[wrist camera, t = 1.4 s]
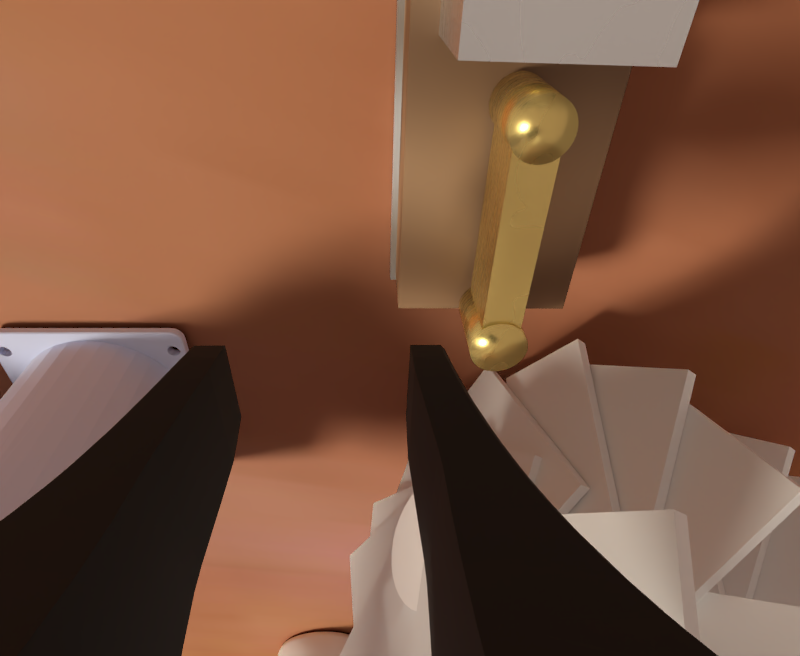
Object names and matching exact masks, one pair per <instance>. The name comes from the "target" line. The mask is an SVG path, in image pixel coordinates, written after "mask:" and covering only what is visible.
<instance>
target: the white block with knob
mask: <svg viewBox="0 0 800 656" xmlns="http://www.w3.org/2000/svg"><path fill="white" fill-rule="evenodd" d="M698 3H699V0H441V11H440V25H439V36H440V37H441V39H442V40H443V41H444V43H445V44H446V45H447V47H448V48H449V49H450V51H451V52H452V53H453V55H454V56H455V57H456V59H457V60H458V61H490V62H522V63H554V64H586V65H618V66H650V67H677V65H678V62H679V59H680V56H681V53H682V50H683V47H684V44H685V41H686V38H687V35H688V32H689V29H690V26H691V23H692V20H693V18H694V15H695V12H696V9H697V6H698Z"/></svg>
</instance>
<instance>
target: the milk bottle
mask: <svg viewBox="0 0 800 656" xmlns="http://www.w3.org/2000/svg"><path fill="white" fill-rule="evenodd" d="M348 637H349V634H345V633H339V632H312V633H305V634H301V635H298V636H295V637H292V638H291V639H289V640H287V641H286V642H285V643H283V645H282V647H281V649H280V651H279V653H278V656H340V654H341V652H342V650H343V648H344V646H345V644H346V641H347V639H348Z"/></svg>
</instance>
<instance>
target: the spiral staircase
mask: <svg viewBox="0 0 800 656" xmlns="http://www.w3.org/2000/svg"><path fill="white" fill-rule="evenodd" d="M695 378H696V374H694V373H693V372H691V371H690V370H688V369H669V368H649V367H630V366H611V365H591V364H589V360H588V355H587V350H586V345H585V343H584V342H582V341H580V340H579V339H576V340H574V341H573V342H571V343H569V344H567V345H565V346H564V347H562V348H560V349H558V350H556V351H554V352H553V353H551V354H549V355H547V356H545V357H544V358H542V359H540V360H538V361H536V362H535V363H533V364H531V365H529V366H527V367H526V368H524V369H522V370H520V371H518V372H517V373H515V374H513V375H511V376H509V377H508V378H506V383H505V382H504V381H503V379H502V378H501V377H500V376H499V374H498V373H497V372H496V371H487V370H484V371H483V372H482V373H481V374H480V376H479V377H478V378H477V380H476V381H475V382H474V384H473V385H472V386H471V388H470V389H469V390H468V393H469V395H470V397H471V398H472V400H473V401H474V403H475V404H476V406H477V407H478V409H479V410H480V412H481V413H482V415H483V416H484V418H485V419H486V421H487V422H488V424H489V425H490V427H491V428H492V430H493V431H494V433H495V434H496V435H497V437H498V438H499V440H500V441H501V442H502V444H503V445H504V446H505V448H506V449H507V450H508V452H509V453H510V454H511V456H512V457H513V458H514V459H515V461H516V462H517V463H518V465H519V466H520V467H521V468H522V470H523V471H524V472H525V473H526V475H527V476H528V477H529V478H530V479H531V481H532V482H533V483H534V484H535V485H536V486H537V488H538V489H539V490H540V491H541V492H542V493H543V494H544V496H545V497H546V498H547V499H548V500H549V501H550V502H551V504H552V505H553V506H554V507H555V508H556V509H557V510H558V511H559V512H560V513H561V514H562V515H563V516H564V517H565V519H566V520H567V521H568V522H569V523H570V524H571V525H572V526H573V527H574V528H575V529H576V530H577V531H578V532H579V533H580V534H581V535H582V536H583V537H584V538H585V539H586V540H587V541H588V542H589V543H590V544H591V545H592V546H593V547H594V548H595V549H596V550H597V551H598V552H599V553H601V554H602V555H603V556H604V557H605V558H606V559H607V560H608V561H609V562H610V563H611V564H612V565H613V566H614V567H615V568H616V569H617V570H618V571H619V572H620V573H621V574H622V575H623V576H624V577H625V578H626V579H628V580H629V581H630V582H631V583H632V584H633V585H634V586H635V587H637V588H638V589H639V590H640V591H641V592H642V593H643V594H645V595H646V596H647V597H648V598H649V599H650V600H651V601H653V602H654V603H655V604H656V605H657V606H658V607H659V608H660V609H662V610H663V611H664V612H665V613H666V614H667V615H669V616H670V617H671V618H672V619H673V620H675V621H676V622H677V623H678V624H679V625H681V626H682V627H683V628H684V629H685V630H687V631H688V632H689V633H690V634H692V635H693V636H694V637H695V638H697V639H698V640H699V641H700V642H702V643H703V644H704V645H705V646H707V647H708V648H709V649H710V650H712V651H713V652H714V653H715V654H717V655H718V656H800V477H797V476H788V474H789V471H790V467H791V464H792V460H793V457H794V453H795V450H794V449H792V448H791V447H790V446H785V445H781V444H776V443H772V442H767V441H763V440H759V439H754V438H750V437H745V436H741V435H737V434H732V433H728V432H727V431H726V430H724V429H723V428H722V427H720V426H719V425H718V424H716V423H715V422H714V421H712V420H711V419H710V418H708V417H707V416H706V415H704V414H703V413H702V412H701V411H699V410H698V409H697V408H695V407H693V406H692V405H690V404H689V403H690V399H691V395H692V390H693V386H694V382H695ZM350 570H351V588H352V606H353V624H354V627H353V629H352V631H351V633H350V635H349V637H348V639H347V641H346V644H345V646H344V648H343V650H342V652H341V654H340V656H432V655H431V639H430V624H429V609H428V594H427V582H426V573H425V565H424V557H423V551H422V544H421V538H420V532H419V525H418V519H417V513H416V506H415V500H414V493H413V487H412V480H411V474H410V467H409V461H408V463H407V466H406V468H405V471H404V474H403V477H402V479H401V482H400V485H399V488H398V490H397V493H396V494H393V495H391V496H389V497H386V498H384V499H382V500H380V501H377V502H375V503H373V513H372V523H371V533H370V537H369V538H368V539H367V540H366V541H365V542H364V543H363V544H362V545H361V546H359V547H358V548H357V549H356V550H355V551H354V552H353V553H352V554H351V555H350Z"/></svg>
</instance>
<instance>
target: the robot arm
mask: <svg viewBox="0 0 800 656" xmlns="http://www.w3.org/2000/svg"><path fill="white" fill-rule="evenodd" d="M172 346H173V347H176V348H178V349H179V350H175V349H173V348H172ZM5 347H6V348H8V349H9V350H8V349H6V348H5ZM0 363H1V365H2V367H3V368H4V370H5V372H6V373H7V375H8V376H9V378H10V380H11V381H12V383H13V384H12V386H11V387H10V388H9V389H8V391H7V392H6V393H5V394H4V395H3V397H2V398H1V399H0V656H181V655H182V649H183V644H184V639H185V635H186V630H187V625H188V620H189V615H190V610H191V606H192V601H193V596H194V591H195V588H196V584H197V580H198V576H199V573H200V569H201V565H202V562H203V559H204V556H205V553H206V549H207V546H208V543H209V540H210V537H211V533H212V530H213V527H214V524H215V520H216V517H217V514H218V511H219V508H220V504H221V501H222V498H223V495H224V491H225V488H226V485H227V481H228V478H229V475H230V471H231V468H232V465H233V461H234V455H235V450H236V445H237V439H238V433H239V427H240V421H241V413H240V409H239V405H238V400H237V396H236V392H235V387H234V383H233V379H232V374H231V370H230V366H229V362H228V357H227V353H226V349H225V346H193V347H192V348H191V349H190V350H189V348H188V345H187V342H186V338H185V336H184V334H183V333H182V332H181V331H179V330H177V329H174V328H0ZM406 422H407V444H408V461H409V467H410V474H411V480H412V487H413V493H414V500H415V506H416V513H417V519H418V525H419V532H420V538H421V544H422V551H423V557H424V565H425V573H426V582H427V594H428V609H429V624H430V639H431V655H432V656H718V655H717V654H715V653H714V652H713V651H712V650H710V649H709V648H708V647H707V646H705V645H704V644H703V643H702V642H700V641H699V640H698V639H697V638H695V637H694V636H693V635H692V634H690V633H689V632H688V631H687V630H685V629H684V628H683V627H682V626H681V625H679V624H678V623H677V622H676V621H675V620H673V619H672V618H671V617H670V616H669V615H667V614H666V613H665V612H664V611H663V610H662V609H660V608H659V607H658V606H657V605H656V604H655V603H654V602H653V601H651V600H650V599H649V598H648V597H647V596H646V595H645V594H643V593H642V592H641V591H640V590H639V589H638V588H637V587H635V586H634V585H633V584H632V583H631V582H630V581H629V580H628V579H626V578H625V577H624V576H623V575H622V574H621V573H620V572H619V571H618V570H617V569H616V568H615V567H614V566H613V565H612V564H611V563H610V562H609V561H608V560H607V559H606V558H605V557H604V556H603V555H602V554H601V553H599V552H598V551H597V550H596V549H595V548H594V547H593V546H592V545H591V544H590V543H589V542H588V541H587V540H586V539H585V538H584V537H583V536H582V535H581V534H580V533H579V532H578V531H577V530H576V529H575V528H574V527H573V526H572V525H571V524H570V523H569V522H568V521H567V520H566V519H565V517H564V516H563V515H562V514H561V513H560V512H559V511H558V510H557V509H556V508H555V507H554V506H553V505H552V504H551V502H550V501H549V500H548V499H547V498H546V497H545V496H544V494H543V493H542V492H541V491H540V490H539V489H538V488H537V486H536V485H535V484H534V483H533V482H532V481H531V479H530V478H529V477H528V476H527V475H526V473H525V472H524V471H523V470H522V468H521V467H520V466H519V465H518V463H517V462H516V461H515V459H514V458H513V457H512V456H511V454H510V453H509V452H508V450H507V449H506V448H505V446H504V445H503V444H502V442H501V441H500V440H499V438H498V437H497V435H496V434H495V433H494V431H493V430H492V428H491V427H490V425H489V424H488V422H487V421H486V419H485V418H484V416H483V415H482V413H481V412H480V410H479V409H478V407H477V406H476V404H475V403H474V401H473V400H472V398H471V397H470V395H469V393H468V392H467V390H466V388H465V387H464V385H463V383H462V381H461V380H460V378H459V376H458V374H457V373H456V371H455V369H454V367H453V365H452V363H451V361H450V359H449V357H448V355H447V353H446V351H445V349H444V348H443V347H442V346H441V345H410V361H409V377H408V393H407V409H406Z"/></svg>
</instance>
